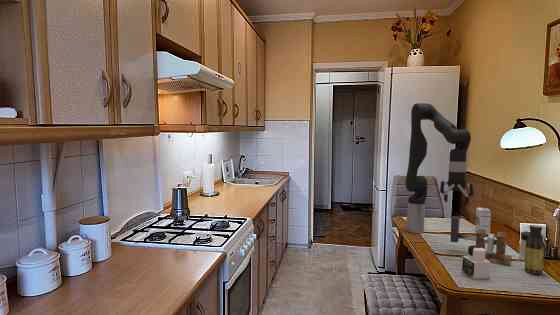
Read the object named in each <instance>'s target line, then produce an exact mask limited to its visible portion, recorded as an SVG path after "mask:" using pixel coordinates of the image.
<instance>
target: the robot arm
mask: <svg viewBox="0 0 560 315" xmlns="http://www.w3.org/2000/svg"><path fill="white" fill-rule="evenodd" d="M410 118H411V119H410V121H411V122H410V123H411V124H410V126H411V129H410V132H411V133H410V144H409V153H408V154H409V156H408V165H407V171H406V176H405V189H406V191H408V192H410V193H413V194H412V195H410V196H409V197H408V198H407V215H406V217H405V218H406V222H405V223H406V225H405V231H406V232H409V233H413V234H424V233H425V213H426V212H425V208H426V200H427V193H428V180H427V179H426V177H425V176H424V175H418V171H419V168H420V166H421V165H422V163H423V161H424V160H425V158H426V157H427V153H428V152H427V151H428V141H427V138H426V135H425V134H424V132H423V130H422V121H424V120H425V121H427V120H428V121H430V122H433V127H434V128H435V130H437V131H438V132H439V133H440V134H441V135H443V137H444V139H445V141H446V142H447V143H449V144H451V145H457V146H456V148H453V149H451V150H450V151H449V163H448V181H444V180H442V181H441V182H440V188H439V193H440V194H443V201H445V203H448V201H449V200H448V199H449V195H448V194H449V193H450V192H451V191H453V192H462V194H463V195H464V205H467V204H469V203H470V202H469V201H470V198H471V197H473V196H474V193H475V192H474V183H473V182H471V183H469V182H468V183H467V162H466V161H467V152H468V149H469V146H470V144H471V140H472V134H471V132H470V131H469V130H467V129H457V126H456V125H455V124H454V123H453V122H451V121H450V120H449V119H447V118H445V117H444V116H443V114H441V113H440V112H439V111H438V110H437V109H436V107H435V106H433V104H431V103H423V102H422V103H420V102H418V103H417V102H416V103H414V104H413V105H412V108H411V111H410ZM446 185H447V186H448V188H447V189H446V190H445V186H446ZM466 187H468V189H469V192H468V191H467V190H466Z"/></svg>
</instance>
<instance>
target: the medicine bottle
mask: <svg viewBox="0 0 560 315" xmlns="http://www.w3.org/2000/svg"><path fill="white" fill-rule="evenodd" d="M485 251H486V248H485V249H484V248H482V247H480V246H476V244H475V245H474V244H473V245H469V246H468V248H467V255H462V263H461V264H462V266H461V267H462V268H461V272H462V273H463V274H465V275H466V276H468V277H469V278H471V279H472V280H485V279H490V277H491V274H490V273H491V262H490V261H488V260H486V259H485Z"/></svg>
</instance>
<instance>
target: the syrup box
mask: <svg viewBox="0 0 560 315" xmlns="http://www.w3.org/2000/svg"><path fill="white" fill-rule="evenodd" d="M475 209H476V211H475V212H476V213H475V232H476V233H477V231H478V229H483V230H486V235H487V236H489V234H491V209H489V208H486V207H476V208H475Z"/></svg>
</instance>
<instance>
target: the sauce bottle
mask: <svg viewBox="0 0 560 315" xmlns="http://www.w3.org/2000/svg"><path fill="white" fill-rule="evenodd" d="M542 230H543V226H541V225H538V224H530V225H529V232H530V236H529V237H528V239H527V240H526V247H525V261H524V271H525V272H526V273H529V274H532V275H542V274H543V273H544V272H543V270H544V264H545V242H544V239H543V240H542V239H541V235H542Z"/></svg>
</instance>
